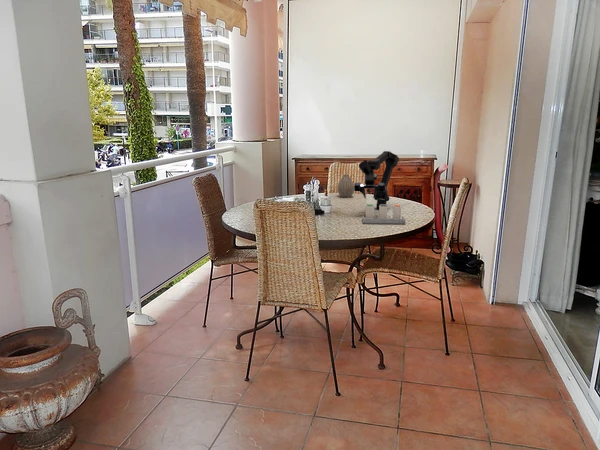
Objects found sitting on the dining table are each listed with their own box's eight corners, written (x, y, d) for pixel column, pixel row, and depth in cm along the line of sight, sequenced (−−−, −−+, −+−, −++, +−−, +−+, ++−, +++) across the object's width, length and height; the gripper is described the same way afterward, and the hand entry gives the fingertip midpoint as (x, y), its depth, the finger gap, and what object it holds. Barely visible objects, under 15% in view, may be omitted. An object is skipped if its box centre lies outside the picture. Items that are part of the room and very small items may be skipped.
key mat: (362, 219, 267) (362, 218, 267) (402, 220, 264) (402, 218, 264) (362, 224, 256) (362, 222, 256) (405, 224, 253) (405, 223, 253)
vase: (340, 198, 335) (340, 176, 331) (335, 196, 348) (335, 174, 344) (356, 198, 338) (357, 175, 334) (350, 195, 351) (351, 173, 347)
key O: (392, 218, 264) (393, 204, 262) (399, 218, 263) (400, 204, 261) (393, 220, 259) (393, 205, 257) (400, 220, 259) (401, 205, 257)
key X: (378, 218, 265) (379, 203, 262) (386, 218, 264) (386, 204, 262) (379, 220, 260) (379, 205, 258) (386, 220, 260) (387, 205, 258)
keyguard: (362, 218, 266) (362, 214, 265) (403, 219, 263) (403, 215, 262) (362, 222, 256) (362, 218, 255) (405, 223, 253) (405, 219, 252)
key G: (365, 218, 266) (366, 203, 263) (372, 218, 265) (373, 203, 263) (365, 219, 261) (366, 205, 259) (373, 220, 261) (373, 205, 259)
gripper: (354, 169, 270) (354, 190, 262) (385, 169, 268) (386, 190, 260) (354, 180, 279) (354, 200, 271) (384, 180, 277) (384, 201, 269)
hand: (369, 198), depth 267 cm, fingers open, 5 cm apart
